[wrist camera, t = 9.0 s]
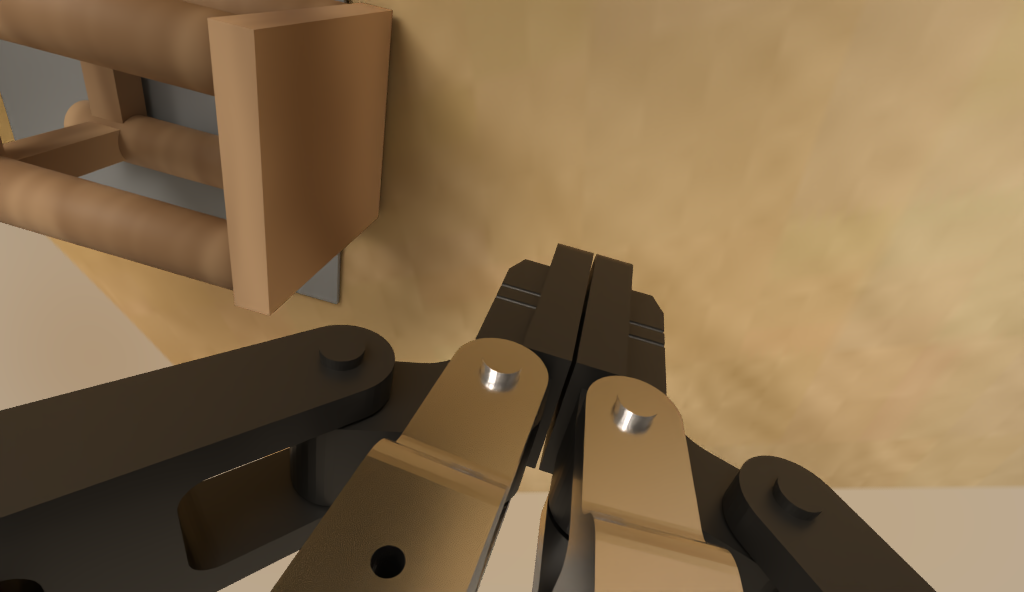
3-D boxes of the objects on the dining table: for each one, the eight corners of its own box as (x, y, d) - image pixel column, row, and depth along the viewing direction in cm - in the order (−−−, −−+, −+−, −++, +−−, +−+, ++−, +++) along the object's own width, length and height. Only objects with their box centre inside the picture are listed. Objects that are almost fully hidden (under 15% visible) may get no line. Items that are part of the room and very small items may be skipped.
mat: (351, -191, 15) (348, -193, 14) (339, 301, 23) (336, 304, 23) (-107, -289, 16) (-116, -293, 15) (42, 216, 24) (38, 217, 24)
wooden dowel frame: (253, 29, 11) (-226, -93, 12) (269, 315, 14) (-95, 207, 15) (392, 10, 17) (68, -70, 17) (378, 216, 20) (111, 143, 21)
